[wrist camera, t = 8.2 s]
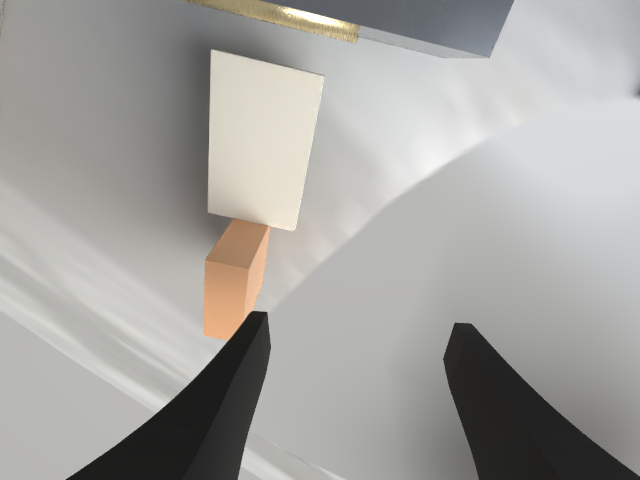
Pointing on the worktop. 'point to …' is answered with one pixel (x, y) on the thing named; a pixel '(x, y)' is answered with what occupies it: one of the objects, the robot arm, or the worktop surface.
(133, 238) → the worktop surface
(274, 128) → the two-tone stacked block
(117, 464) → the robot arm
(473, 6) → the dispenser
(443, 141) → the worktop surface
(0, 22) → the packaged product
